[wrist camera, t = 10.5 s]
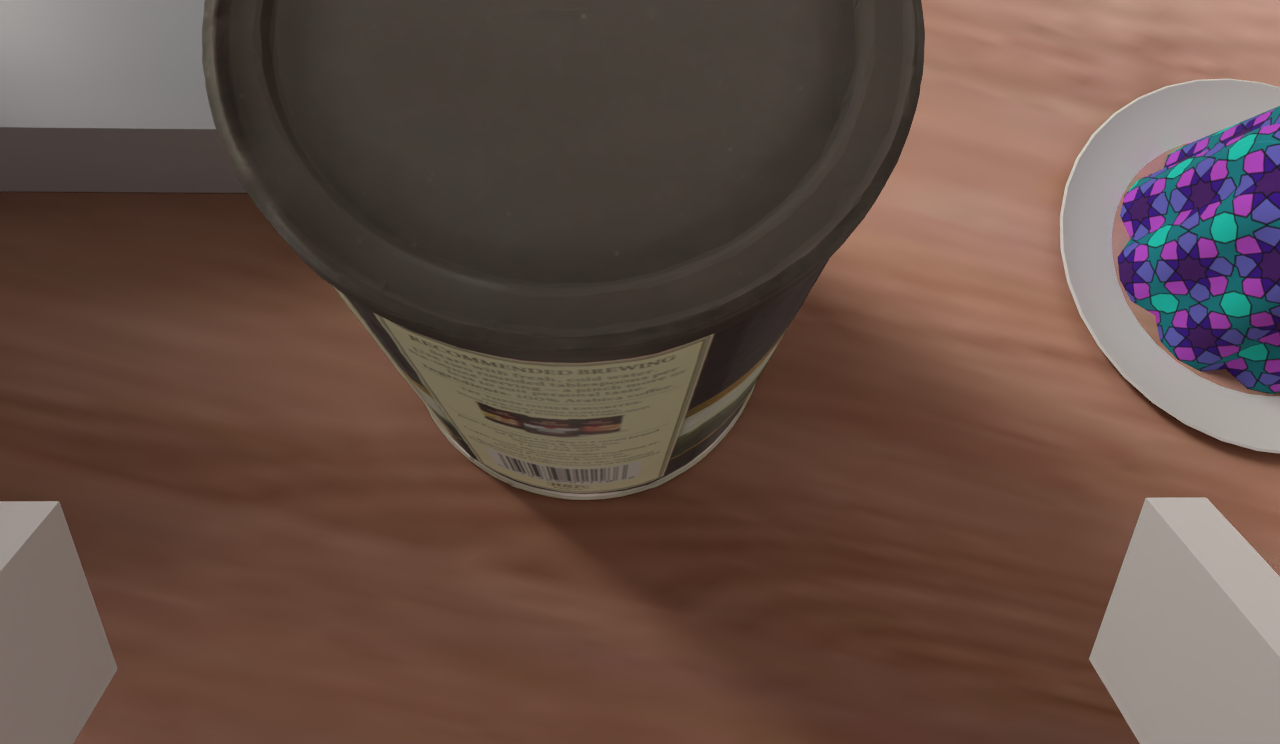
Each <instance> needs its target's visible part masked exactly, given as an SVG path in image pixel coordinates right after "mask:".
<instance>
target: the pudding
mask: <svg viewBox="0 0 1280 744" xmlns="http://www.w3.org/2000/svg"><path fill="white" fill-rule="evenodd" d="M1190 142H1192V143H1190ZM1185 143H1189V144H1187V145H1185V146H1183V147H1181V148H1180V149H1178V150H1176V151H1174V152H1173V153H1171V154H1169V155H1168V156H1167V160H1166V163H1165V166H1164V169H1163V170H1160V171H1158V172H1156V173H1153V174H1151V175H1149V176H1147V177H1144V178H1142V179H1140V180H1138V181H1137V182H1136V183H1135V184H1134V185H1133V186H1132V188H1131V189H1130V190H1129V191H1128V192H1127V193H1126V195H1125V196H1124V201H1123V205H1122V210H1121V214H1120V216H1121V219H1122V221H1123V223H1124V225H1125V227H1126V229H1127V232H1128V234H1129V236H1130V238H1131V239H1130V241H1129V242H1128V243H1127V245H1126V246H1125V248H1124V249H1123V251H1122V252H1121V254H1120V255H1119V256H1118V265H1119V275H1120V281H1121V283H1122V284H1123V286H1124V288H1125V290H1126V292H1127V294H1128V295H1129V297H1130V299H1131V301H1132V302H1134V303H1136V304H1137V305H1139V306H1141V307H1142V308H1144V309H1146V310H1147V311H1149V312H1151V313H1152V314H1154V315H1155V316H1156V321H1157V327H1158V332H1159V337H1160V341H1161V342H1162V343H1163V344H1164V345H1165V346H1166V348H1167V349H1168V350H1169V351H1170V352H1171V353H1172V354H1173V355H1174V356H1175V357H1176V358H1177V359H1178V360H1180V361H1181V362H1183V363H1185V364H1187V365H1189V366H1191V367H1193V368H1195V369H1197V370H1199V371H1208V370H1218V369H1227V370H1228V371H1229V372H1230V373H1231V374H1232V375H1233V376H1234V377H1236V378H1237V379H1238V380H1239V381H1240V382H1241V383H1242V384H1243V385H1244V386H1245V387H1246V388H1248V389H1252V390H1256V391H1261V392H1265V393H1270V394H1274V393H1280V87H1277V86H1273V85H1269V84H1265V83H1262V82H1253V81H1245V80H1236V79H1206V80H1194V81H1189V82H1184V83H1179V84H1174V85H1170V86H1165V87H1163V88H1160V89H1158V90H1156V91H1153V92H1151V93H1148V94H1146V95H1143V96H1141V97H1138V98H1137V99H1135V100H1134V101H1132V102H1131V103H1129V104H1127V105H1126V106H1124V107H1123V108H1121V109H1120V110H1118V111H1117V112H1115V113H1114V114H1112V115H1111V116H1110V117H1109V118H1108V119H1107V120H1106V121H1105V122H1104V123H1103V124H1102V125H1101V126H1100V127H1099V128H1098V129H1097V130H1096V131H1095V132H1094V133H1093V134H1092V136H1091V137H1090V139H1089V140H1088V142H1087V143H1086V145H1085V146H1084V148H1083V149H1082V151H1081V152H1080V154H1079V155H1078V157H1077V158H1076V161H1075V163H1074V166H1073V168H1072V171H1071V173H1070V176H1069V178H1068V181H1067V183H1066V186H1065V191H1064V196H1063V202H1062V208H1061V213H1060V249H1061V254H1062V259H1063V264H1064V269H1065V274H1066V279H1067V283H1068V286H1069V288H1070V291H1071V293H1072V296H1073V298H1074V301H1075V303H1076V306H1077V309H1078V311H1079V314H1080V316H1081V318H1082V319H1083V321H1084V323H1085V324H1086V326H1087V328H1088V329H1089V331H1090V333H1091V335H1092V336H1093V338H1094V340H1095V341H1096V343H1097V345H1098V346H1099V348H1100V349H1101V350H1102V351H1103V353H1104V354H1105V355H1106V356H1107V358H1108V359H1109V360H1110V361H1111V362H1112V364H1113V365H1114V366H1115V367H1116V368H1117V370H1118V371H1119V372H1120V373H1121V375H1122V376H1123V377H1124V378H1125V379H1126V380H1128V381H1129V382H1130V383H1131V384H1132V385H1133V386H1134V387H1135V388H1136V389H1138V390H1139V391H1140V392H1141V393H1142V394H1143V395H1144V396H1145V397H1146V398H1148V399H1149V400H1150V401H1151V402H1152V403H1154V404H1155V405H1157V406H1158V407H1160V408H1161V409H1163V410H1164V411H1166V412H1167V413H1169V414H1170V415H1172V416H1173V417H1175V418H1176V419H1178V420H1179V421H1181V422H1182V423H1184V424H1186V425H1188V426H1190V427H1192V428H1194V429H1196V430H1199V431H1201V432H1203V433H1205V434H1207V435H1209V436H1212V437H1214V438H1216V439H1218V440H1220V441H1224V442H1227V443H1231V444H1234V445H1238V446H1241V447H1245V448H1249V449H1252V450H1256V451H1262V452H1271V453H1280V396H1263V395H1254V394H1246V393H1243V392H1239V391H1235V390H1232V389H1228V388H1225V387H1222V386H1219V385H1217V384H1215V383H1213V382H1210V381H1208V380H1206V379H1204V378H1202V377H1199V376H1198V375H1196V374H1194V373H1193V372H1191V371H1190V370H1188V369H1187V368H1185V367H1184V366H1182V365H1181V364H1179V363H1178V362H1176V361H1175V360H1174V359H1173V358H1171V357H1170V356H1169V355H1168V354H1167V353H1166V352H1165V351H1164V350H1162V349H1161V348H1160V347H1159V346H1158V345H1157V344H1156V343H1155V342H1154V341H1153V340H1152V338H1151V337H1150V336H1149V335H1148V334H1147V332H1146V331H1145V330H1144V329H1143V328H1142V326H1141V325H1140V324H1139V322H1138V321H1137V319H1136V317H1135V316H1134V314H1133V313H1132V311H1131V309H1130V308H1129V306H1128V304H1127V303H1126V300H1125V298H1124V295H1123V293H1122V290H1121V288H1120V285H1119V283H1118V280H1117V276H1116V272H1115V267H1114V262H1113V258H1112V230H1113V224H1114V218H1115V213H1116V210H1117V208H1118V205H1119V202H1120V200H1121V197H1122V194H1123V193H1124V191H1125V190H1126V188H1127V187H1128V185H1129V184H1130V182H1131V181H1132V179H1133V177H1134V176H1135V175H1136V174H1137V173H1138V172H1139V171H1140V170H1141V169H1142V168H1143V167H1144V166H1145V165H1146V164H1147V163H1149V162H1150V161H1152V160H1153V159H1155V158H1156V157H1158V156H1159V155H1161V154H1162V153H1164V152H1165V151H1168V150H1170V149H1173V148H1175V147H1177V146H1180V145H1182V144H1185Z"/></svg>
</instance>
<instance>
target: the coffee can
mask: <svg viewBox="0 0 1280 744" xmlns="http://www.w3.org/2000/svg"><path fill="white" fill-rule="evenodd" d="M924 40H925V31H924V20H923V11H922V4H921V0H205V2H204V15H203V24H202V64H203V71H204V76H205V86H206V91H207V96H208V101H209V105H210V109H211V113H212V117H213V121H214V125H215V127H216V130H217V133H218V135H219V138H220V141H221V143H222V146H223V149H224V152H225V154H226V156H227V158H228V160H229V162H230V164H231V166H232V168H233V170H234V173H235V175H236V176H237V178H238V180H239V181H240V183H241V185H242V186H243V188H244V189H245V190H246V192H247V193H248V195H249V196H250V197H251V199H252V200H253V202H254V203H255V204H256V206H257V207H258V208H259V210H260V211H261V212H262V214H263V215H264V216H265V218H266V219H267V220H268V221H269V223H270V224H271V225H272V226H273V228H274V229H275V230H276V231H277V232H278V234H279V235H280V236H281V237H282V238H283V239H284V240H285V241H286V243H287V244H288V245H289V246H290V247H291V248H292V249H293V250H294V251H295V253H296V254H297V255H298V256H299V257H300V258H301V259H302V260H303V261H304V262H305V263H306V264H307V265H308V266H309V267H310V268H311V269H312V270H314V271H315V272H316V273H317V274H318V275H319V276H320V277H321V278H323V279H324V280H326V281H327V282H328V283H330V284H331V285H332V286H333V287H334V288H335V290H336V291H337V292H338V294H339V295H340V296H341V297H342V299H343V300H344V302H345V303H346V304H347V306H348V307H349V308H350V309H351V311H352V312H353V313H354V314H355V316H356V317H357V318H358V319H359V321H360V322H361V323H362V325H363V326H364V327H365V328H366V330H367V331H368V332H369V333H370V335H371V336H372V337H373V339H374V340H375V341H376V343H377V344H378V345H379V347H380V348H381V349H382V351H383V352H384V353H385V354H386V356H387V357H388V358H389V360H390V361H391V362H392V363H393V365H394V366H395V367H396V369H397V370H398V372H399V373H400V374H401V375H402V376H403V378H404V379H405V380H406V381H407V382H408V384H409V385H410V386H411V387H412V388H413V390H414V391H415V392H416V393H417V395H418V396H419V397H420V399H421V400H422V401H423V402H424V404H425V406H426V407H427V409H428V411H429V413H430V415H431V417H432V419H433V420H434V422H435V423H436V425H437V426H438V427H439V429H440V430H441V431H442V433H443V434H444V435H445V436H446V438H447V439H448V440H449V441H450V442H451V444H452V445H453V446H454V447H455V448H456V449H458V450H459V451H460V452H461V453H462V454H463V455H464V456H465V457H466V458H467V459H468V460H470V461H471V462H473V463H474V464H475V465H477V466H478V467H480V468H481V469H482V470H484V471H485V472H487V473H488V474H490V475H492V476H493V477H495V478H497V479H499V480H501V481H503V482H505V483H508V484H509V485H511V486H512V487H514V488H519V489H523V490H526V491H529V492H532V493H536V494H540V495H544V496H548V497H555V498H562V499H571V500H596V499H608V498H615V497H622V496H626V495H630V494H633V493H637V492H641V491H644V490H647V489H650V488H655V487H657V486H659V485H661V484H663V483H665V482H667V481H669V480H671V479H673V478H674V477H676V476H677V475H679V474H681V473H683V472H685V471H686V470H688V469H689V468H691V467H692V466H694V465H695V464H696V463H698V462H699V461H700V460H701V459H703V458H704V457H705V456H706V455H707V454H708V453H709V452H710V451H711V450H713V449H714V448H715V447H716V446H717V445H718V444H719V443H720V441H721V440H722V439H723V438H724V437H725V436H726V435H727V433H728V432H729V431H730V430H731V428H732V427H733V426H734V424H735V423H736V421H737V420H738V418H739V417H740V415H741V414H742V412H743V410H744V408H745V406H746V404H747V402H748V400H749V398H750V397H751V395H752V393H753V390H754V387H755V384H756V381H757V380H758V378H759V376H760V375H761V373H762V371H763V369H764V368H765V366H766V365H767V363H768V361H769V360H770V358H771V357H772V355H773V353H774V351H775V349H776V347H777V345H778V344H779V342H780V340H781V338H782V337H783V335H784V333H785V332H786V330H787V328H788V326H789V325H790V323H791V321H792V320H793V318H794V317H795V315H796V313H797V312H798V310H799V309H800V307H801V306H802V304H803V302H804V301H805V299H806V297H807V295H808V293H809V292H810V290H811V288H812V286H813V285H814V283H815V282H816V280H817V279H818V277H819V275H820V274H821V272H822V270H823V268H824V267H825V265H826V263H827V262H828V260H829V258H830V257H831V256H832V255H833V254H834V253H835V252H836V251H837V250H838V249H839V248H840V246H841V245H842V244H843V243H844V242H845V241H846V239H847V238H848V237H849V236H850V235H851V233H852V232H853V231H854V230H855V228H856V227H857V226H858V225H859V224H860V222H861V221H862V220H863V219H864V217H865V216H866V214H867V213H868V211H869V210H870V208H871V207H872V206H873V204H874V203H875V201H876V199H877V198H878V196H879V194H880V192H881V191H882V189H883V187H884V186H885V184H886V182H887V180H888V178H889V176H890V175H891V173H892V171H893V169H894V167H895V166H896V164H897V162H898V159H899V157H900V154H901V152H902V149H903V147H904V144H905V141H906V139H907V136H908V134H909V130H910V127H911V124H912V121H913V117H914V114H915V111H916V107H917V103H918V98H919V93H920V84H921V80H922V75H923V63H924Z"/></svg>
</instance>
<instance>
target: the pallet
mask: <svg viewBox="0 0 1280 744" xmlns="http://www.w3.org/2000/svg"><path fill="white" fill-rule="evenodd" d="M204 2H205V0H0V191H19V192H172V193H247V192H246V190H245V189H244V188H243V186H242V185H241V183H240V181H239V180H238V178H237V176H236V175H235V173H234V170H233V168H232V166H231V164H230V162H229V160H228V158H227V156H226V154H225V152H224V149H223V146H222V143H221V141H220V138H219V135H218V133H217V130H216V127H215V125H214V121H213V117H212V113H211V109H210V105H209V101H208V96H207V91H206V86H205V76H204V71H203V64H202V24H203V15H204Z"/></svg>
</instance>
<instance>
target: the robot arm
mask: <svg viewBox="0 0 1280 744" xmlns="http://www.w3.org/2000/svg"><path fill="white" fill-rule="evenodd" d="M1089 660H1090V662H1091V663H1092V665H1093V667H1094V668H1095V670H1096V672H1097V673H1098V675H1099V677H1100V678H1101V680H1102V682H1103V683H1104V685H1105V687H1106V688H1107V690H1108V692H1109V693H1110V695H1111V697H1112V698H1113V700H1114V702H1115V703H1116V705H1117V707H1118V708H1119V710H1120V712H1121V713H1122V715H1123V717H1124V718H1125V720H1126V722H1127V723H1128V725H1129V727H1130V728H1131V730H1132V732H1133V733H1134V735H1135V737H1136V738H1137V740H1138V742H1139V743H1140V744H1280V576H1279V575H1278V574H1277V573H1276V572H1275V571H1274V570H1273V569H1272V568H1271V567H1270V565H1269V564H1268V563H1267V562H1266V561H1265V560H1264V559H1263V558H1262V557H1261V556H1260V555H1259V554H1258V553H1257V551H1256V550H1255V549H1254V548H1253V547H1252V546H1251V545H1250V544H1249V543H1248V542H1247V541H1246V540H1245V539H1244V538H1243V536H1242V535H1241V534H1240V533H1239V532H1238V531H1237V530H1236V529H1235V528H1234V527H1233V526H1232V525H1231V524H1230V523H1229V521H1228V520H1227V519H1226V518H1225V517H1224V516H1223V515H1222V514H1221V513H1220V512H1219V511H1218V510H1217V509H1216V507H1215V506H1214V505H1213V504H1212V503H1211V502H1210V501H1209V500H1208V499H1207V498H1206V497H1204V498H1146V499H1145V501H1144V504H1143V507H1142V510H1141V513H1140V516H1139V518H1138V521H1137V524H1136V527H1135V530H1134V533H1133V535H1132V538H1131V541H1130V544H1129V547H1128V550H1127V552H1126V555H1125V558H1124V561H1123V564H1122V567H1121V570H1120V572H1119V575H1118V578H1117V581H1116V584H1115V587H1114V589H1113V592H1112V595H1111V598H1110V601H1109V604H1108V606H1107V609H1106V612H1105V615H1104V618H1103V621H1102V623H1101V626H1100V629H1099V632H1098V635H1097V638H1096V640H1095V643H1094V646H1093V649H1092V652H1091V655H1090V657H1089ZM117 669H118V668H117V665H116V662H115V660H114V657H113V654H112V651H111V648H110V645H109V642H108V640H107V637H106V634H105V631H104V628H103V625H102V622H101V619H100V617H99V614H98V611H97V608H96V605H95V602H94V599H93V596H92V594H91V591H90V588H89V585H88V582H87V579H86V576H85V574H84V571H83V568H82V565H81V562H80V559H79V556H78V553H77V551H76V548H75V545H74V542H73V539H72V536H71V533H70V531H69V528H68V525H67V522H66V519H65V516H64V513H63V510H62V508H61V505H60V502H59V501H0V744H74V742H75V740H76V738H77V737H78V735H79V733H80V732H81V730H82V728H83V727H84V725H85V723H86V722H87V720H88V718H89V717H90V715H91V713H92V712H93V710H94V708H95V706H96V705H97V703H98V701H99V700H100V698H101V696H102V695H103V693H104V691H105V690H106V688H107V686H108V685H109V683H110V681H111V680H112V678H113V676H114V675H115V673H116V671H117Z"/></svg>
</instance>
